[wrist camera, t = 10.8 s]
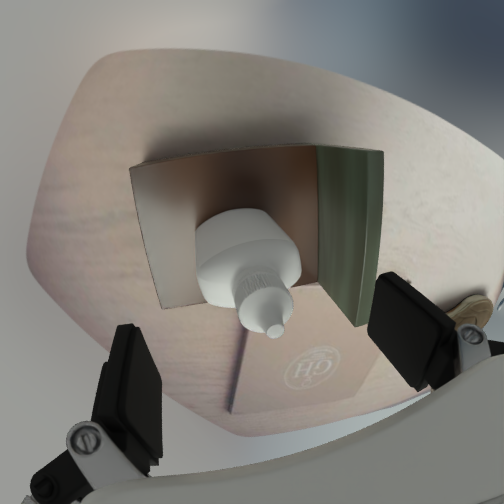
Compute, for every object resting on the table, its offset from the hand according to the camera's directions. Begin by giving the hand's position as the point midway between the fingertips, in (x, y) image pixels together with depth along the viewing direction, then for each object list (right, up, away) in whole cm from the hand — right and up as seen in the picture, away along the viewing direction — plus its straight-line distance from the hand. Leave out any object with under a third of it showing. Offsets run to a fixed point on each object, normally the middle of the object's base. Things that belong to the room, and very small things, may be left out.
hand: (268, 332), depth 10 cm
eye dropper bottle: (-2, +5, +11) cm, 12 cm away
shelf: (-3, +6, +16) cm, 17 cm away
